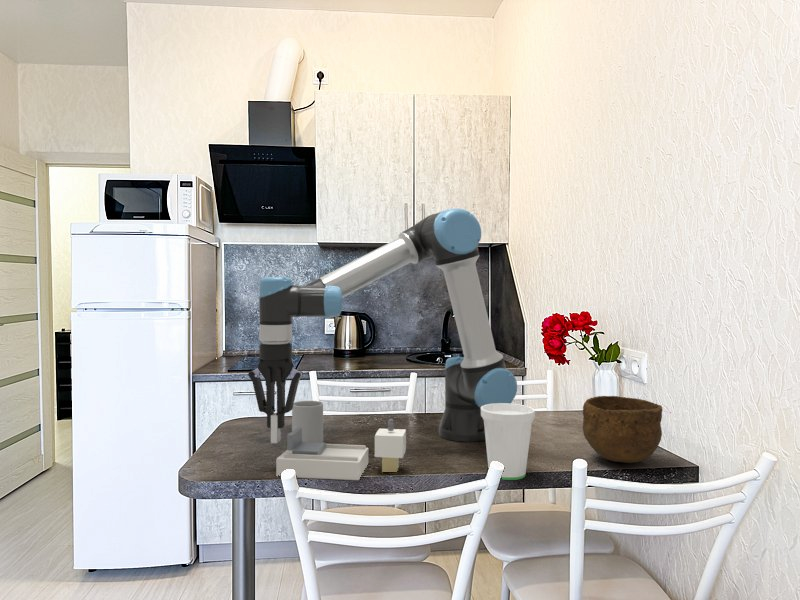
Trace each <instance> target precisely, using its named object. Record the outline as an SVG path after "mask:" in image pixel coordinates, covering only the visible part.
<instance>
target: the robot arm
mask: <svg viewBox="0 0 800 600" xmlns="http://www.w3.org/2000/svg"><path fill="white" fill-rule="evenodd" d="M481 239H482V228H481V225H480V222H479V221H478V219H477V218H476V216H475V215H474V214H473V213H471V212H470V211H468V210H466V209H464V208H450V209H449V208H448V209H445V210H442V211H441V212H437V213H432V214H430V215H428V216H426V217H424V218H422V219H421V220H420V221H418V222H417V223H416V224H414V225H412V226H410V227H409V228H407V229H406V230H404V231H402V232H399V234H398V237H397V238H396V239H394V240H392V241H390V242H388V243H386V244H384V245H382V246H380V247H378V248H376V249H374V250H372V251H370V252H368V253H366V254H364V255H362V256H360V257H359V258H356V259H354V260H352V261H350V262H348V263H346V264H344V265H342V266H341V267H338V268H337V269H334V270H332V271H331V272H329V273H326V274H324V275H322V276H321V277H318V278H317V279H315V280H313V281H311V282H309V283H307V284H304V285H303V284H302V285H297V284H296V285H294V284H293V279H292V278H291V277H286V276H285V277H283V276H282V277H281V276H280V277H279V276H270V277H269V276H266V277H263V278H261V279H260V282H259V296H258V299H259V301H258V302H259V303H258V304H259V305H258V306H259V309H258V311H259V314H258V315H259V335H258V336H259V339H258V340H259V341H260V342H261V343H260V344H259V355H258V356H259V362H258V364H257V368H255V369H254V370H251V371H249V372H248V374H247V375H248V377H249V379H250V380H251V382H252V386H253V391H254V394H255V398H256V402H257V408H258V411H259V412H261V413H263V414H266V426H267V428H268V429H270V443H271V444H278V443H279V442H280V441H281V440H282V438H281V434H282V432H281V429H283V428H284V427H285V423H286V422H285V417H286V416H285V415H286V414H287V413H288V414H289V412H291V411H292V408H293V404H294V403H295V400H296V396H297V391H298V387H299V383H300V380H301V379H302V378H303V375H304V373H303V371H302V370H301V371H299V370H297V369H296V368H295V366H294V363H293V344H292V343H291V341H292V340H293V335H292V334H293V323H292V322H293V317H295V318H299V317H302V318H303V317H306V318H307V317H308V318H309V317H311V318H315V317H318V318H319V317H320V318H321V317H325V318H329V317H338V316H340V314H341V313H342V310H343V303H344V302H343V298H345V297H347V296H348V295H351V294H352V293H355V292H356V291H358V290H360V289H362V288H364V287H366V286H368V285H370V284H371V283H374V282H376V281H378V280H379V279H381V278H384V277H385V276H387V275H389V274H391V273H393V272H395V271H398V270H399V269H401V268H403V267H405V266H406V265H409V264H410V263H411V264H413V265H416V264H417V265H418V263H420V262H423V261H425V260H428V259H431V258H434V263H435V266H436V268H438V269H440V270H442V272H443V275H444V280H445V283H446V288H447V292H448V296H449V300H450V304H451V308H452V313H453V316H454V320H455V323H456V329H457V332H458V337H459V341H460V346H461V350H462V354H463V356H458V357H457V356H456V357H448V358H447V359H446V360H445V367H444V374H445V375H444V379H445V380H444V381H445V382H444V386H445V389H444V398H445V399H444V400H445V401H444V403H445V404H444V411H443V414H442V417H441V420H440V422H439V426H438V435H439V437H441V438H443V439H444V440H445V439H446V440H449V441H455V442H468V443H473V442H481V441H486V438H485V428H484V420H483V418H482V417H481V406H484V405H487V404H496V403H509V404H513V400H514V399H515V398H516V396H517V391H518V382H517V379H516V376H515V375H514V374H513V372H511V370H509V369H508V368H507V366H506V363H505V359H504V355H503V354H502V353H500V352H499V351H497V350H496V345H495V341H494V337H493V332H492V328H491V324H490V321H489V316H488V312H487V309H486V308H487V307H486V303H485V299H484V295H483V291H482V285H481V282H480V277H479V274H478V269H477V266H476V265H477V264H476V263H477V260H479V257H480V252H479V247H478V246H479V243H480V241H481ZM290 374H291V375H290ZM261 375H262V377H263V378H264V380H265V387H266V388H265V389H266V390H265V391H266V392H265V391H264V387H263V383H262V379H261ZM289 376H290V378H291V381H290V384H289V388H288V392H287V393H288V394H287V396H286V385H287V384H286V383H287V379H288V377H289ZM275 386H276V387H275ZM275 389H276V391H275ZM275 393H276V394H275ZM265 394H266V396H265ZM275 395H276V397H275ZM286 397H287V398H286ZM275 399H276V404H275ZM275 405H276V406H275ZM275 407H276V409H275Z"/></svg>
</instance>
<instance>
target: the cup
mask: <svg viewBox="0 0 800 600" xmlns="http://www.w3.org/2000/svg"><path fill="white" fill-rule="evenodd" d="M481 417H482V418H483V420H484V428H485V438H486V440H485V446H486V457H487V458H486V459H487V465H488V468H489V466H490V463H491V462H492V461H498V462H500V463H502V464H503V465H504V467H505V469H504V472H503V474H502V479H501V481H502V480H504V481H517V480H522V479H524V478H525V477H526V474H527V472H526V471H527V465H528V455H529V449H530V448H529V447H530V441H531V433H532V424H533V421H534V420H535V418H536V409H535V408H534V407H531V406H529V405H523V404H519V403H511V404H509V403H496V404H487V405H484V406H481Z"/></svg>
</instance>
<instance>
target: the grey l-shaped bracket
mask: <svg viewBox="0 0 800 600" xmlns="http://www.w3.org/2000/svg"><path fill="white" fill-rule="evenodd" d="M286 438H287V440H286V442H287V444H286V447H287V448H286V450H291V451H292V454H307V455H320V454H321V453H322V452H323V450H324V449H325V448H326V444H327V442H323V443H318V442H302V427H297V428H296V429H294V430H293V431H292V430H291V432H289V433H288V434H287V435H286Z"/></svg>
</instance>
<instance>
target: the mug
mask: <svg viewBox="0 0 800 600" xmlns="http://www.w3.org/2000/svg"><path fill="white" fill-rule="evenodd" d="M291 411H292V412H291V432H292V431H293V430H294V429H296V428H297V427H302V442H318V443H324V403H323V402H322V401H317V400H300V401H296V402H295V401H294V404H293V408H292V410H291Z"/></svg>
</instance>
